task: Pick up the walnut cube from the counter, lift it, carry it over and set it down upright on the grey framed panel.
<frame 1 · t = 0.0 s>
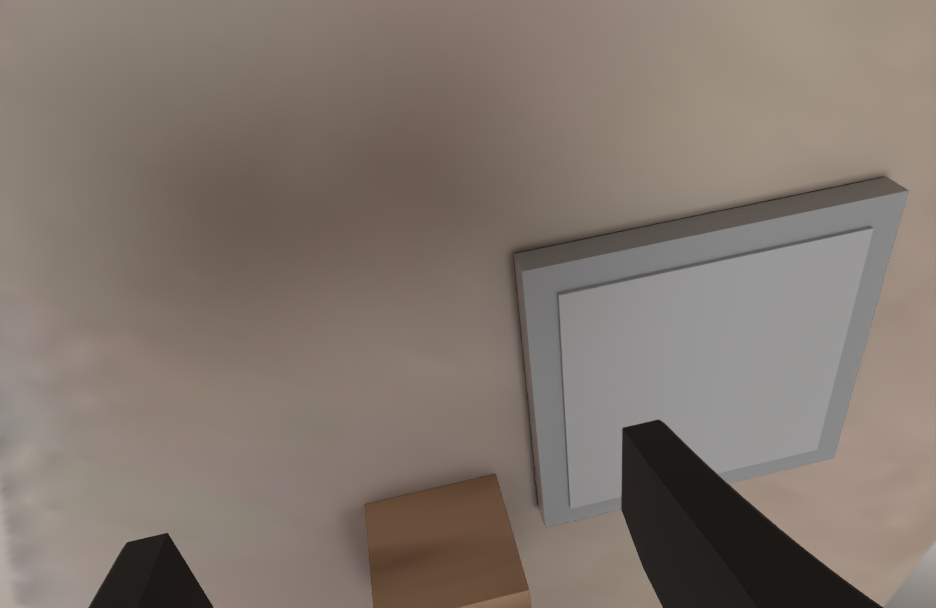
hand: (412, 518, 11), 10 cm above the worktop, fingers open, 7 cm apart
cube: (439, 527, 28), on the worktop
grey framed panel: (691, 362, 25), on the worktop
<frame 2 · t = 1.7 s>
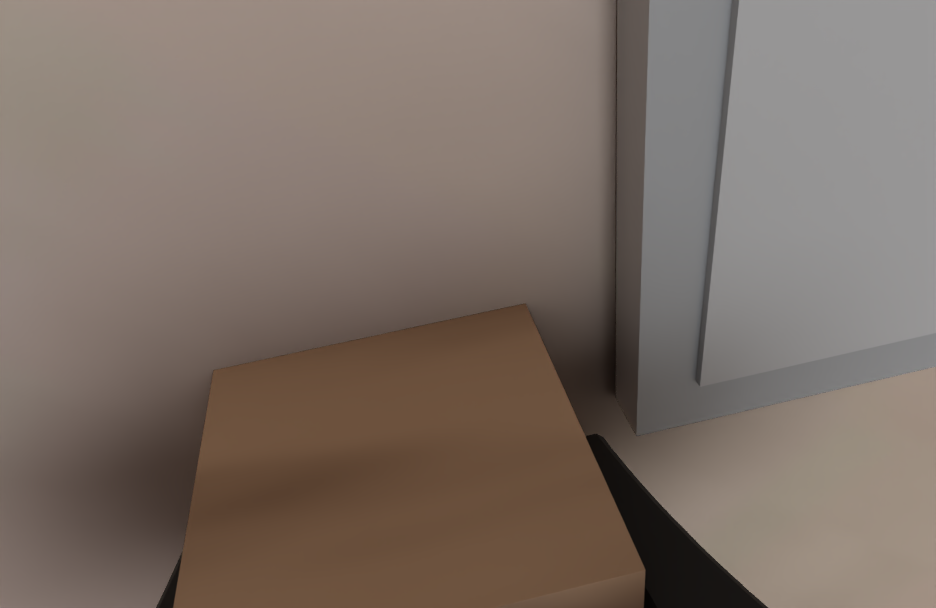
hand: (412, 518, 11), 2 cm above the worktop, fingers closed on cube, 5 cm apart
cube: (400, 441, 13), on the worktop, touching gripper
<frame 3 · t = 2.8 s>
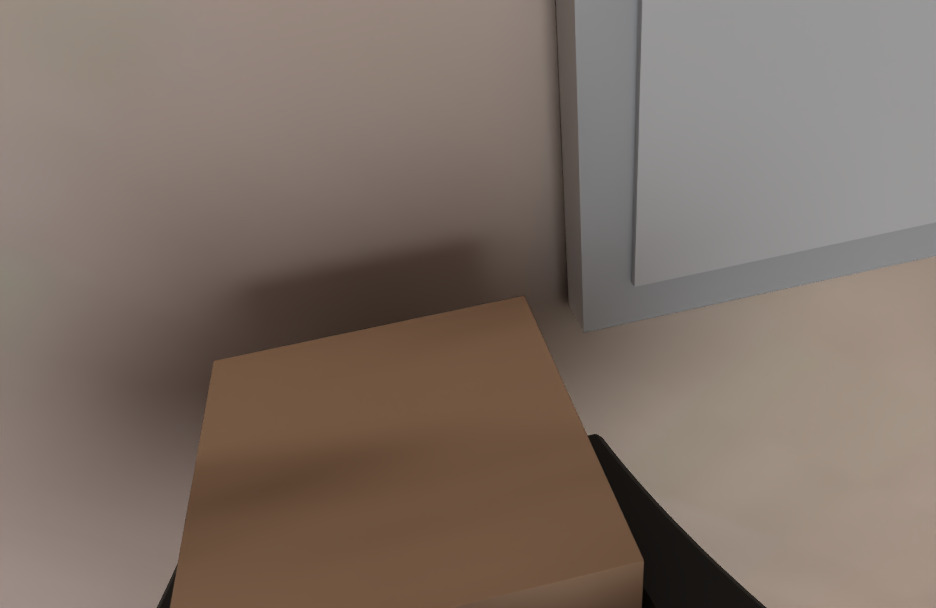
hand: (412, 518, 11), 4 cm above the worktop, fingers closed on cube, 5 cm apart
cube: (399, 436, 13), point 3 cm above the worktop, touching gripper
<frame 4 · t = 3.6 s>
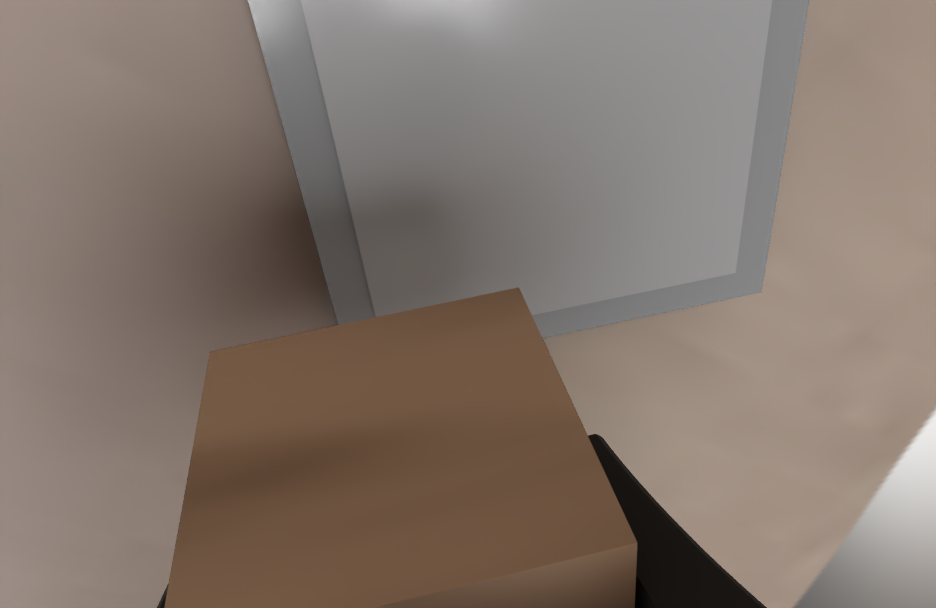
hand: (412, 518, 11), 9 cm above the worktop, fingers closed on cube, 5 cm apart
cube: (395, 428, 13), point 7 cm above the worktop, touching gripper
grey framed panel: (542, 118, 17), on the worktop
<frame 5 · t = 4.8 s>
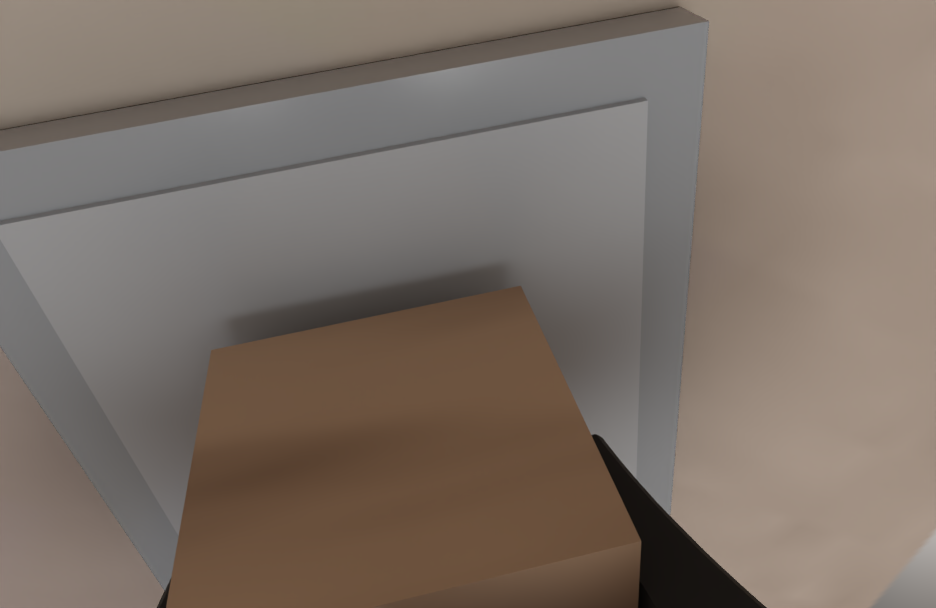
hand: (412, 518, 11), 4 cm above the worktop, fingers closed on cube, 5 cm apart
cube: (396, 427, 13), point 2 cm above the worktop, touching gripper
grey framed panel: (388, 362, 14), on the worktop
when the fingers open (4 cm above the worktop, at t = 5.4 s): cube stays where it is, resting on grey framed panel.
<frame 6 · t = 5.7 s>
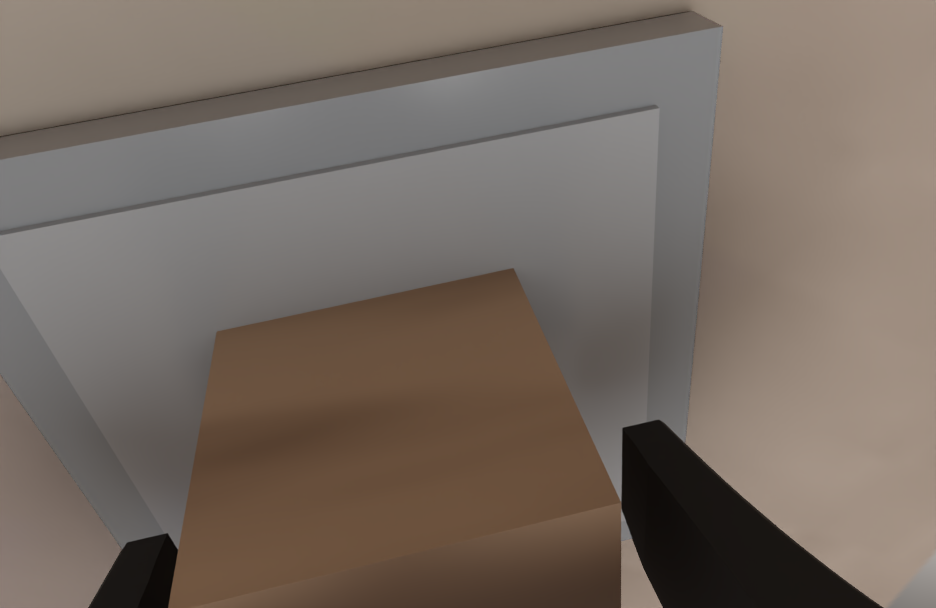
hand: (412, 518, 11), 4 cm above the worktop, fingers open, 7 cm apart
cube: (395, 406, 13), point 1 cm above the worktop, touching grey framed panel
grey framed panel: (390, 373, 14), on the worktop
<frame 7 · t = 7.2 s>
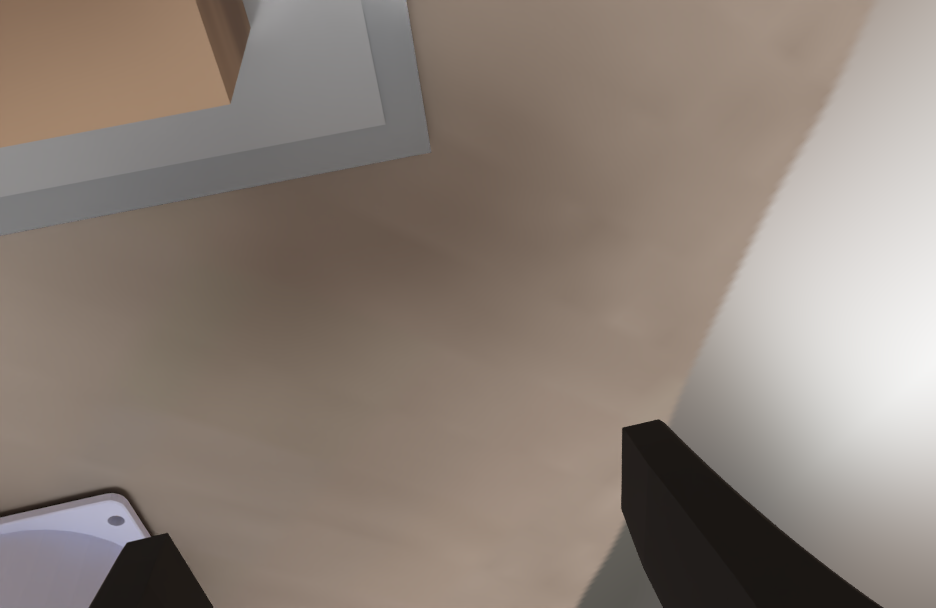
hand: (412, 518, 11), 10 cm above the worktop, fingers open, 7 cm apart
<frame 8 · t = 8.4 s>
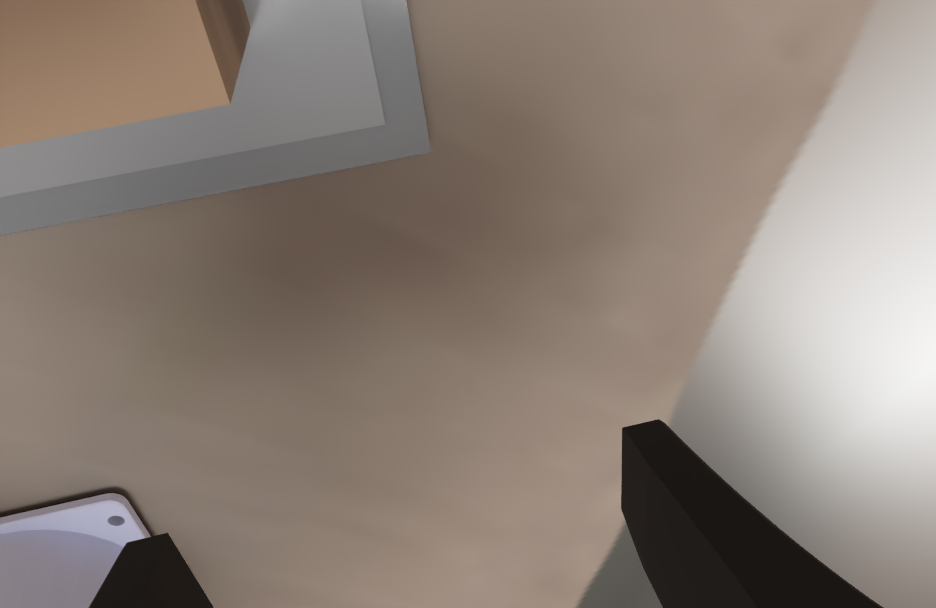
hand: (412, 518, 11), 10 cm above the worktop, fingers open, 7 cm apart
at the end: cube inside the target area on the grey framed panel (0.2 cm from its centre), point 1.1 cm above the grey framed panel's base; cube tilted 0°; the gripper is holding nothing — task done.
